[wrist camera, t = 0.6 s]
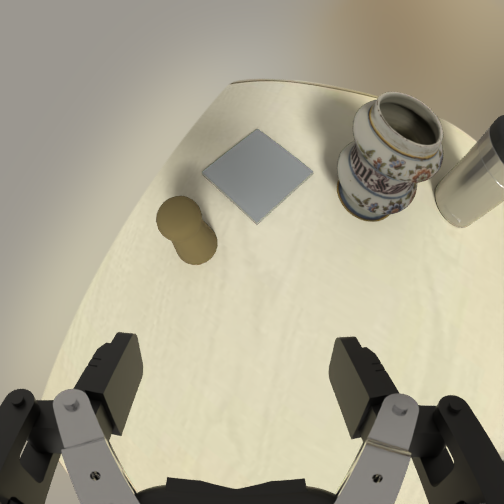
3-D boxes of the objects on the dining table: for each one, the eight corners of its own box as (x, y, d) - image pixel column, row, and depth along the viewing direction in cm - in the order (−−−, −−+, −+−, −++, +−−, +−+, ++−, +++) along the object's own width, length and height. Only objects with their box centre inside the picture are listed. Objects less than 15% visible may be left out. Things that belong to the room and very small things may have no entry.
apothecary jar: (387, 159, 44) (429, 85, 27) (409, 224, 41) (473, 164, 23) (321, 162, 44) (345, 77, 27) (339, 233, 41) (384, 165, 24)
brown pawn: (167, 246, 41) (138, 216, 31) (196, 216, 42) (176, 178, 32) (196, 273, 40) (173, 250, 29) (226, 241, 41) (213, 208, 30)
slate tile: (257, 131, 46) (257, 128, 46) (312, 174, 44) (313, 171, 43) (202, 174, 44) (201, 172, 44) (257, 224, 42) (256, 222, 41)
